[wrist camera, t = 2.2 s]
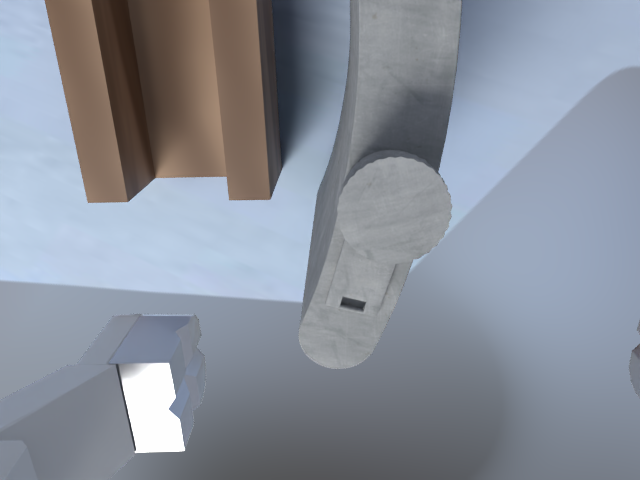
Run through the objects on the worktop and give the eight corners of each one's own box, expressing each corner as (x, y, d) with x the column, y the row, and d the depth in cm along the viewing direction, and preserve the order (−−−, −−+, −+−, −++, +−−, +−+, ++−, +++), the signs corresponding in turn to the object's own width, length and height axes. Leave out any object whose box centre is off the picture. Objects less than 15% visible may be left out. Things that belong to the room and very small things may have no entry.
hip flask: (355, -31, 32) (375, -94, 13) (422, -19, 32) (532, -65, 13) (313, 215, 38) (287, 403, 20) (369, 224, 38) (395, 420, 20)
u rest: (262, -144, 30) (243, -184, 24) (281, 169, 37) (270, 199, 31) (74, -135, 30) (8, -172, 24) (128, 172, 37) (87, 202, 31)
